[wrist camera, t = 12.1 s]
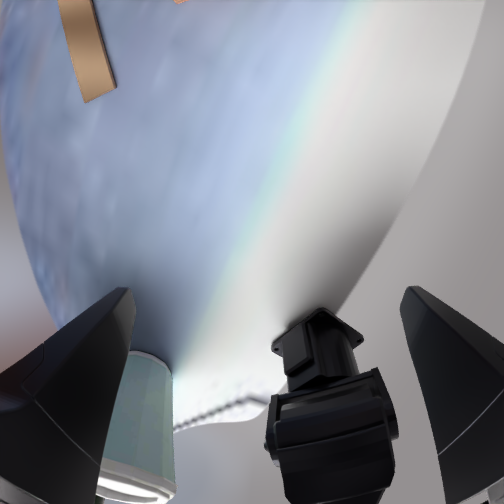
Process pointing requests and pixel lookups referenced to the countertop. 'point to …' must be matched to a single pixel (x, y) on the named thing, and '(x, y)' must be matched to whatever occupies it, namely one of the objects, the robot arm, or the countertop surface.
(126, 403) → the disposable coffee cup
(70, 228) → the countertop surface
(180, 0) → the tan square pedestal
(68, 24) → the door frame
